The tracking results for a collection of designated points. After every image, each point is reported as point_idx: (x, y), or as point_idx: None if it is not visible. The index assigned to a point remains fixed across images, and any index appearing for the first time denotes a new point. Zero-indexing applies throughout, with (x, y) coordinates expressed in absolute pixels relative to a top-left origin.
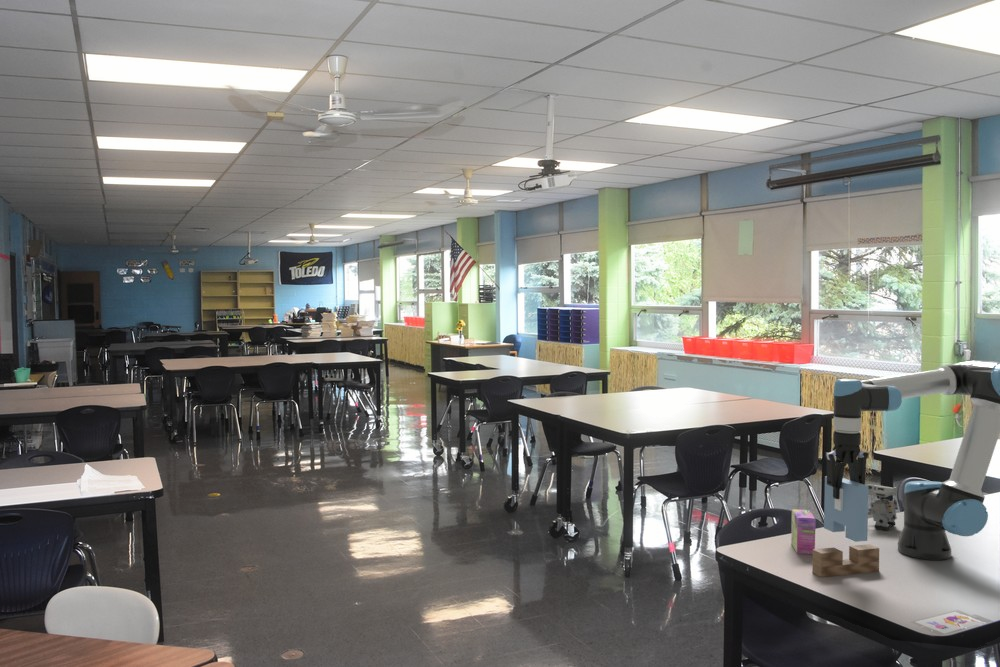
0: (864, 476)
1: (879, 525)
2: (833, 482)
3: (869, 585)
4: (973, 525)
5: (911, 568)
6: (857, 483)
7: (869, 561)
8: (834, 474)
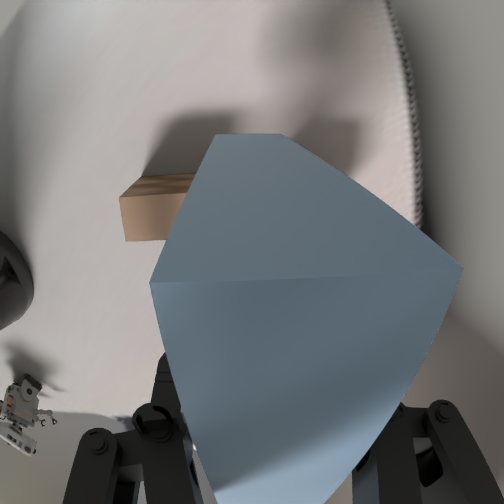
0: (74, 500)
1: (34, 387)
2: (457, 428)
3: (247, 81)
4: None
5: (51, 185)
6: (239, 436)
7: (166, 183)
8: (476, 491)
